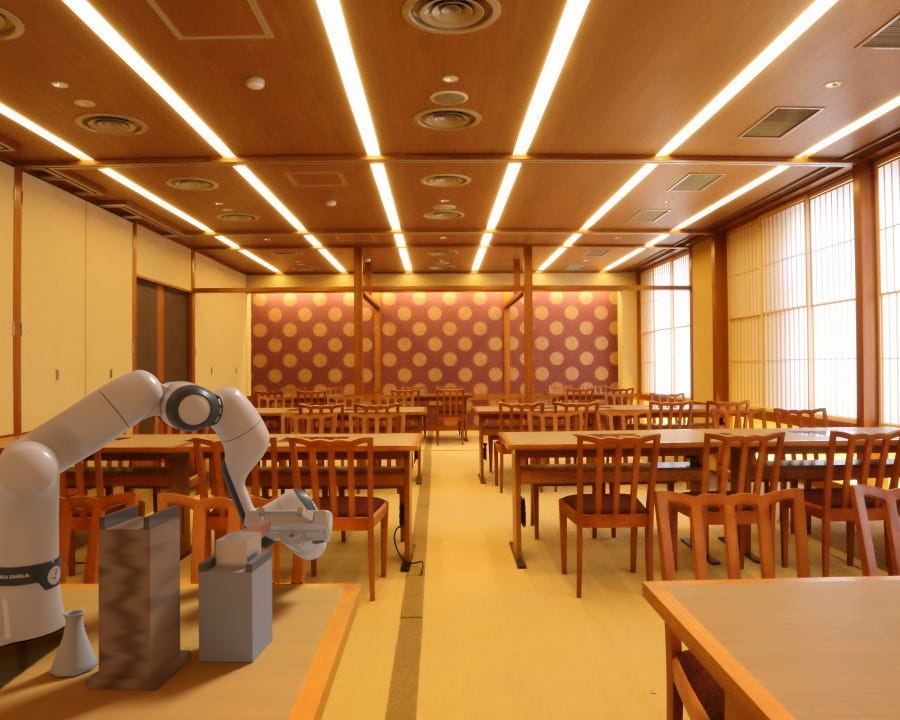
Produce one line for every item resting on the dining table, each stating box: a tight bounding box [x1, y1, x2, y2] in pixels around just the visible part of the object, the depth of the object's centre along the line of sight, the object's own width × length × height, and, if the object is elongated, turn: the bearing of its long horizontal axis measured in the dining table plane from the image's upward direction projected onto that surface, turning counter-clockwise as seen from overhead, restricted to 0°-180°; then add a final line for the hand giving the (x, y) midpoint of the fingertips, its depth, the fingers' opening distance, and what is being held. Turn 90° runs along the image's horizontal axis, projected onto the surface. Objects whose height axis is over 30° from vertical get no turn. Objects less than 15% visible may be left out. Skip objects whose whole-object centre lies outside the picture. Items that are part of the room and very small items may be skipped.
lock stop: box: [215, 520, 271, 568], centre depth 128 cm, size 6×17×5 cm, turn 175°
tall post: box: [85, 505, 192, 691], centre depth 113 cm, size 12×12×28 cm
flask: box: [48, 608, 99, 678], centre depth 115 cm, size 7×7×10 cm
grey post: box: [198, 548, 274, 663], centre depth 122 cm, size 10×10×18 cm
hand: (279, 510), depth 145 cm, fingers open, 8 cm apart
